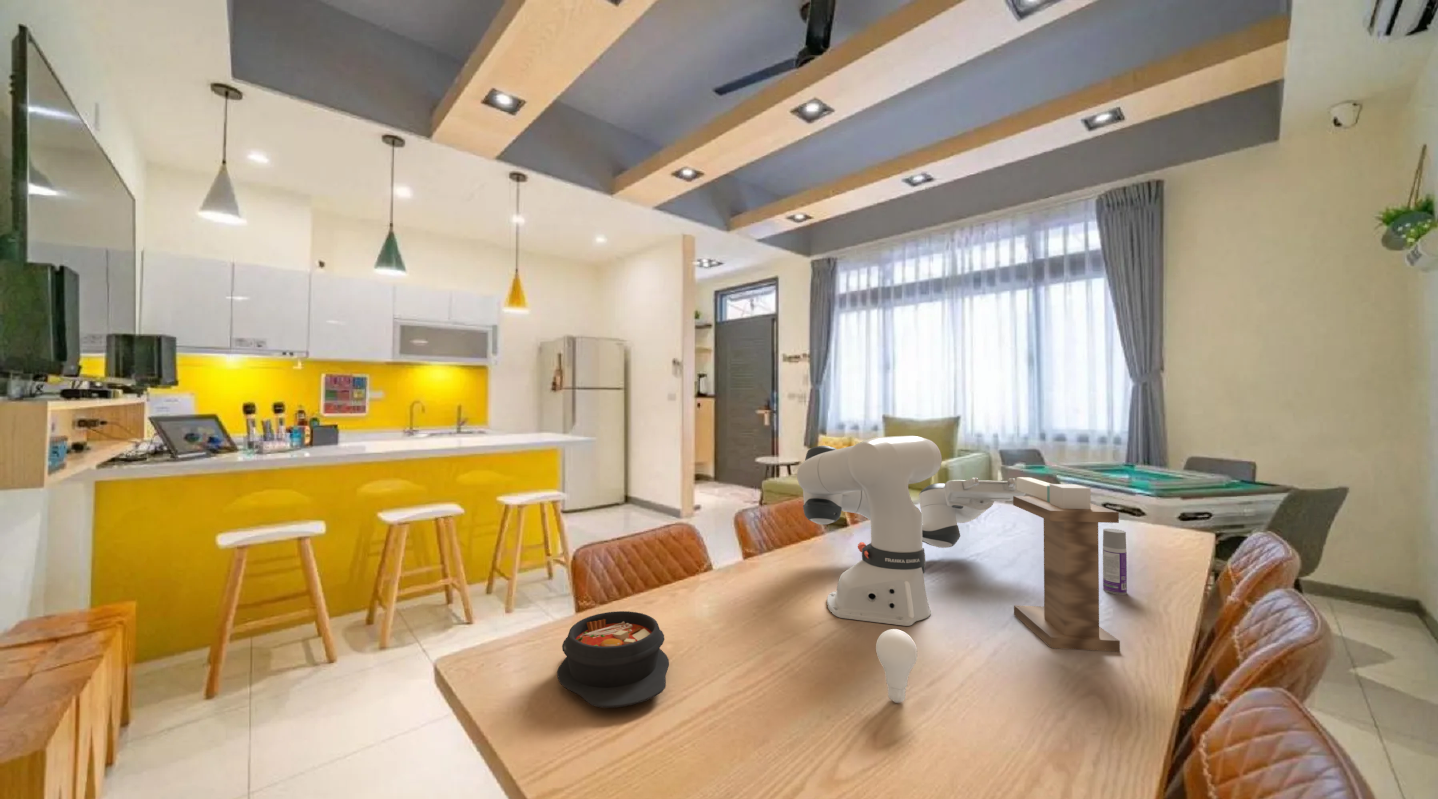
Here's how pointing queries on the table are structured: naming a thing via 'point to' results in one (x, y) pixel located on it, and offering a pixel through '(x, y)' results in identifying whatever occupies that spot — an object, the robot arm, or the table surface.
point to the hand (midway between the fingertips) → (994, 480)
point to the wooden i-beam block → (1069, 577)
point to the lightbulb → (896, 660)
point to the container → (1114, 561)
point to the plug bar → (1057, 493)
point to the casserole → (614, 659)
